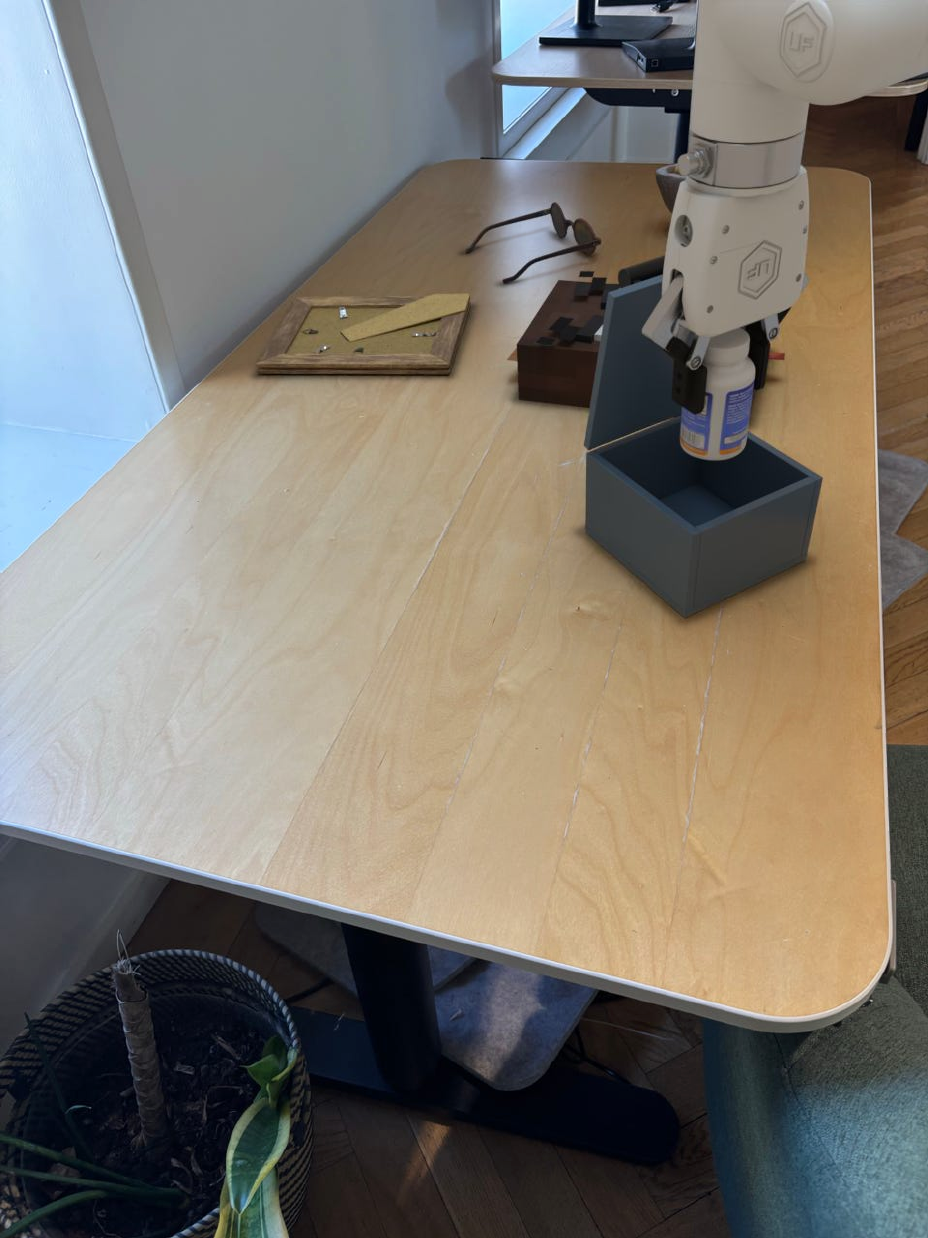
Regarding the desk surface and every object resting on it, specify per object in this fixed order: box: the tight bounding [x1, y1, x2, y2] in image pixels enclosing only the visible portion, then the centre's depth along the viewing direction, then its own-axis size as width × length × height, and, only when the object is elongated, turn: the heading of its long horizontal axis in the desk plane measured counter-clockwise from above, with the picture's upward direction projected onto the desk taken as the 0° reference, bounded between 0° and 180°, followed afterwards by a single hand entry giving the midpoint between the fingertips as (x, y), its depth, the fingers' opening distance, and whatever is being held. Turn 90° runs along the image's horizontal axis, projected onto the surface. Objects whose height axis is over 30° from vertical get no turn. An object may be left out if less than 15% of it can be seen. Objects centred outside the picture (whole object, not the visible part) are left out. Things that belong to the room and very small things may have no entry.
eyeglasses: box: [465, 201, 602, 284], centre depth 140 cm, size 15×15×5 cm
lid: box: [583, 254, 695, 451], centre depth 84 cm, size 15×14×5 cm
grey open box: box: [584, 415, 824, 619], centre depth 87 cm, size 15×14×9 cm
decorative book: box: [506, 270, 786, 418], centre depth 112 cm, size 19×8×30 cm
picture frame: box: [256, 293, 472, 375], centre depth 125 cm, size 19×2×24 cm
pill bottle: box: [680, 328, 755, 460], centre depth 79 cm, size 5×5×10 cm
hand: (717, 392), depth 79 cm, fingers closed on pill bottle, 5 cm apart
